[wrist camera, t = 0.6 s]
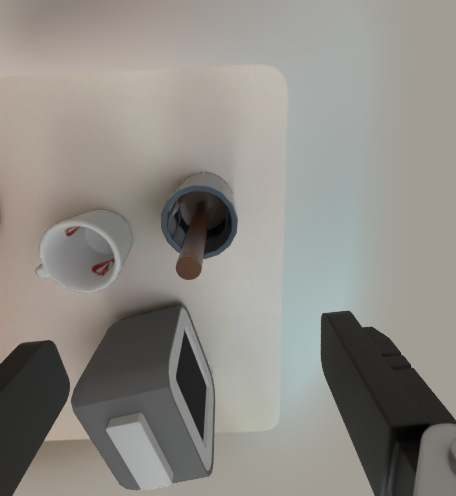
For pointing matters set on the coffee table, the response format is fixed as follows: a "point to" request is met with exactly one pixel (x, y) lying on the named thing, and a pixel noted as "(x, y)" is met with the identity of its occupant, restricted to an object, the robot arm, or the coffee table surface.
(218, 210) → the wooden plunger
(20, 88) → the coffee table surface
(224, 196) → the utensil crock
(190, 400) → the alarm clock
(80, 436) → the coffee table surface
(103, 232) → the cup
